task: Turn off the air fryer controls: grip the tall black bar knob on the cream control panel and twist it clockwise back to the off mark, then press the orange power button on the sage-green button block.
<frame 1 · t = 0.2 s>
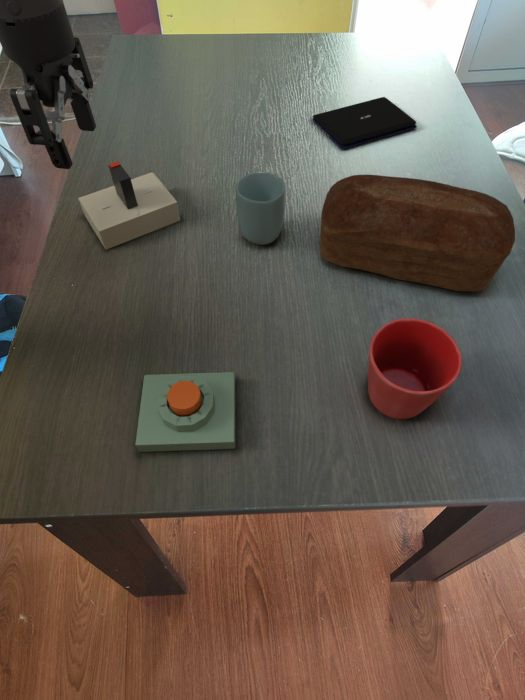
hand: (76, 147, 61), 20 cm above the table, tool pointing down, fingers open, 8 cm apart
cup: (261, 236, 80), on the table
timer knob: (123, 185, 77), point 7 cm above the table, hinge at 90.0°
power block: (189, 414, 61), on the table
flower pot: (395, 394, 63), on the table
laptop: (362, 125, 100), on the table
bread: (402, 258, 77), on the table
power button: (184, 398, 57), point 4 cm above the table, slide at 0.1 cm
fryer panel: (132, 218, 83), on the table
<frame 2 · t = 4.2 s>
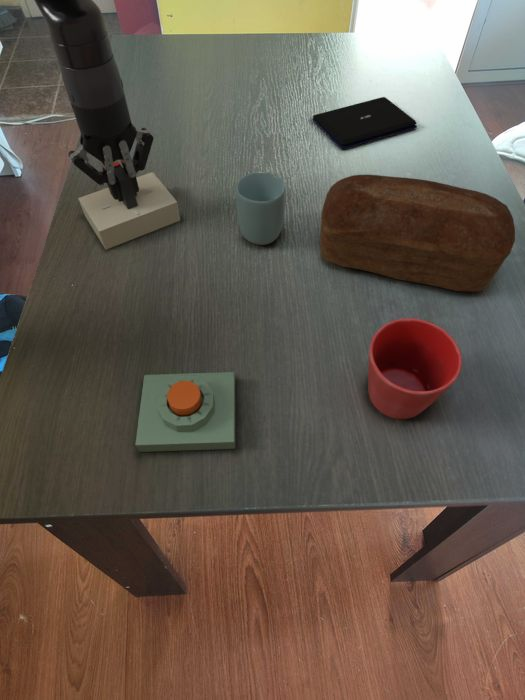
hand: (126, 196, 79), 5 cm above the table, tool pointing down, fingers closed on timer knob, 2 cm apart
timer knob: (123, 185, 77), point 7 cm above the table, hinge at 90.0°, touching gripper
everything else where it was.
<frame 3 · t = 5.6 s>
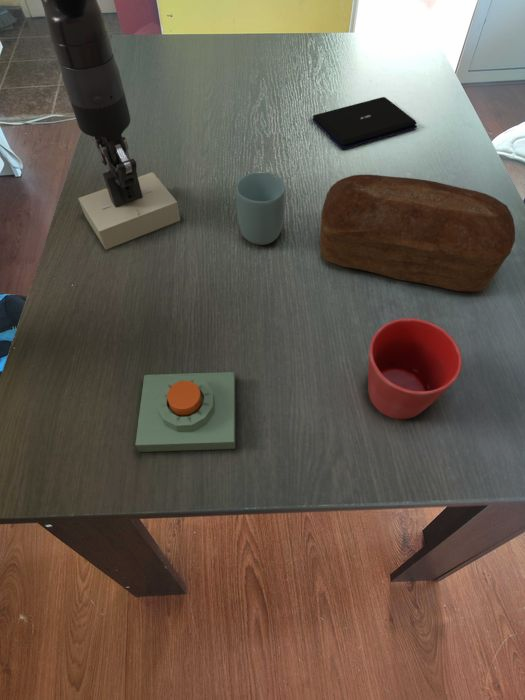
hand: (126, 196, 79), 5 cm above the table, tool pointing down, fingers closed on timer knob, 2 cm apart
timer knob: (123, 185, 77), point 7 cm above the table, hinge at 0.9°, touching gripper
everything else where it was.
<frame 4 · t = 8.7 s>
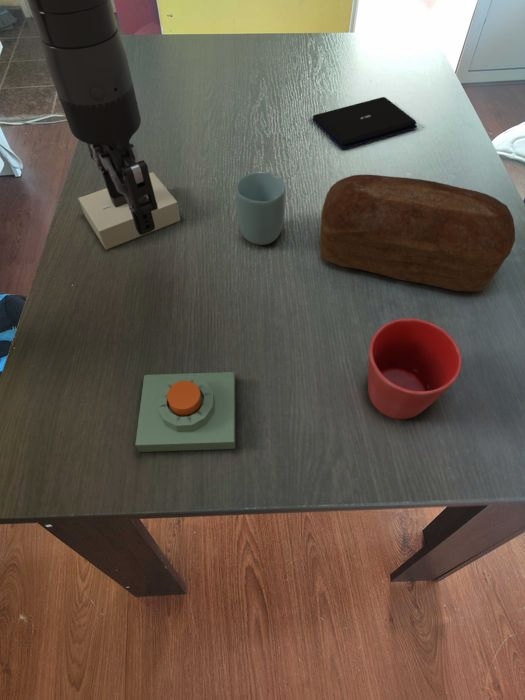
hand: (132, 212, 60), 15 cm above the table, tool pointing down, fingers open, 8 cm apart
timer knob: (123, 185, 77), point 7 cm above the table, hinge at 0.9°
everything else where it was.
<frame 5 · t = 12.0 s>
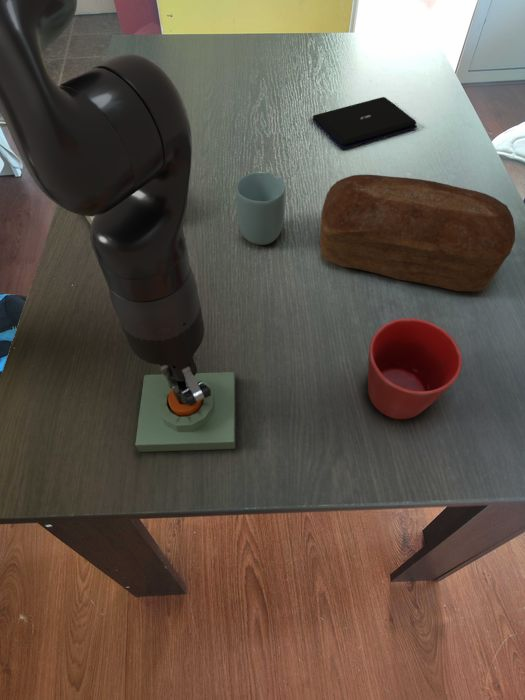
hand: (185, 396, 57), 5 cm above the table, tool pointing down, fingers closed
power button: (185, 400, 58), point 4 cm above the table, slide at -0.6 cm, touching gripper
everything else where it was.
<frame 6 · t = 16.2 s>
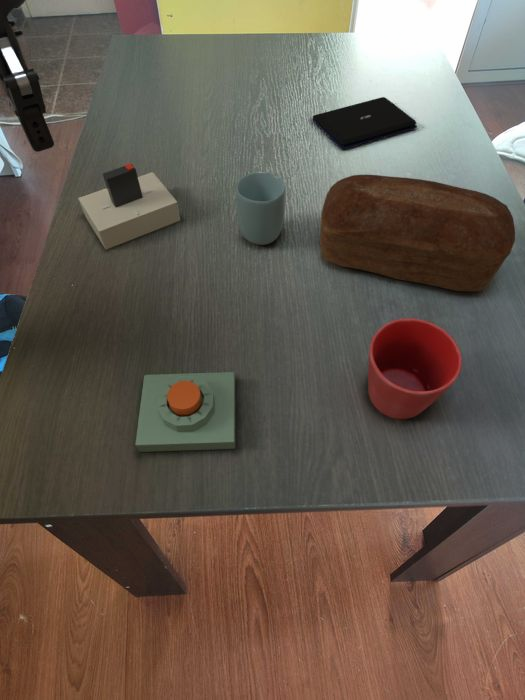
hand: (42, 145, 48), 27 cm above the table, tool pointing down, fingers closed
power button: (184, 398, 57), point 4 cm above the table, slide at 0.1 cm
everything else where it was.
at the end: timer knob at +1° (first picture: +90°); power button pushed in 1.1 cm at the most during the clip, back to where it started at the end; power button slide at 0.1 cm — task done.
